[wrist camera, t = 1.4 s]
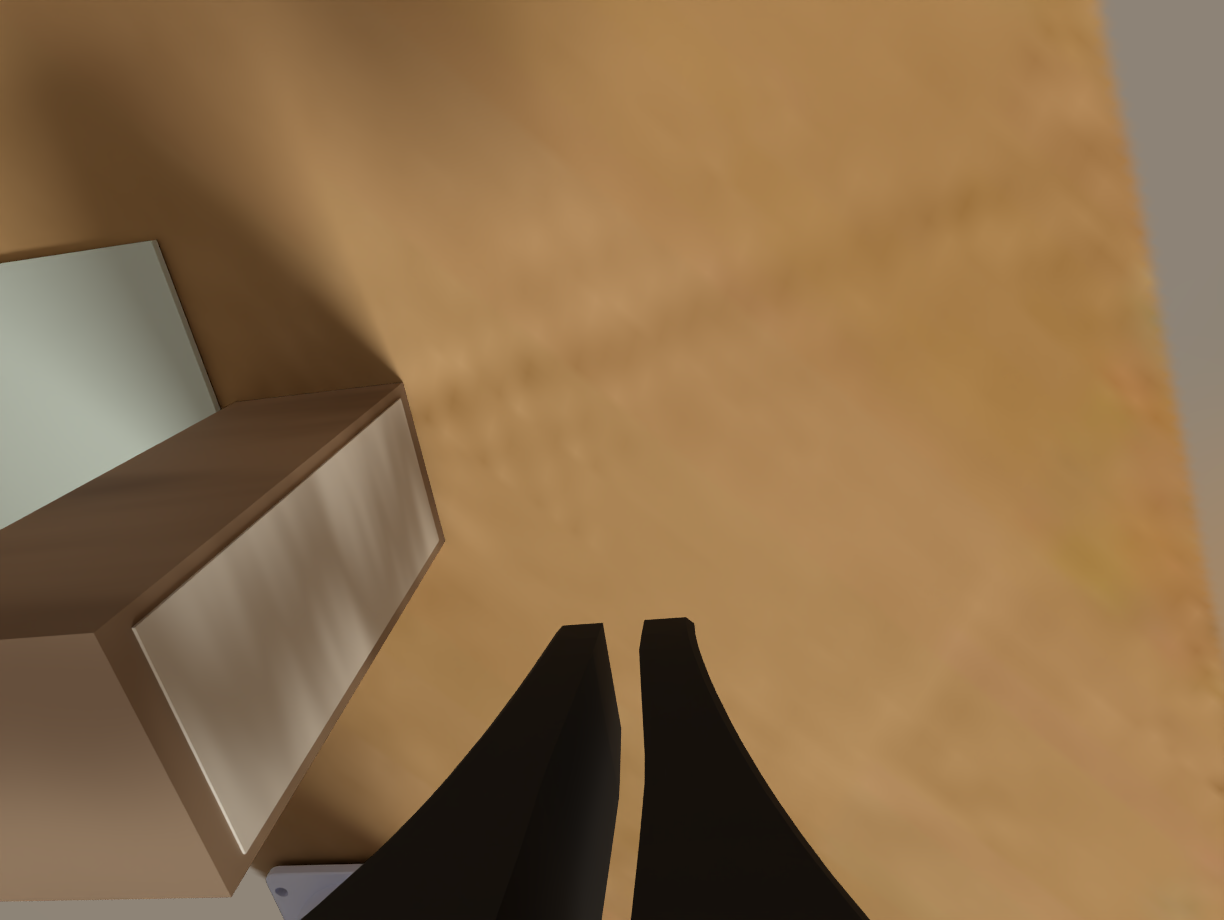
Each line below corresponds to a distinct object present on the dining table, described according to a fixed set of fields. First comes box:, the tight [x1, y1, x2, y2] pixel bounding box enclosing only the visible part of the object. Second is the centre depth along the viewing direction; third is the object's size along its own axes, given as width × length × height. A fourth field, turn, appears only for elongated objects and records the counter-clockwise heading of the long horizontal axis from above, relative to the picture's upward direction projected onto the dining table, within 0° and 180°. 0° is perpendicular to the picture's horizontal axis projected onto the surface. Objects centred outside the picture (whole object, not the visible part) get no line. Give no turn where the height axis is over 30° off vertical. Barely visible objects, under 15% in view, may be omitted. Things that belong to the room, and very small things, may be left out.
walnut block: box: [0, 382, 445, 902], centre depth 15 cm, size 5×5×11 cm
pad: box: [0, 240, 220, 530], centre depth 21 cm, size 14×11×1 cm
